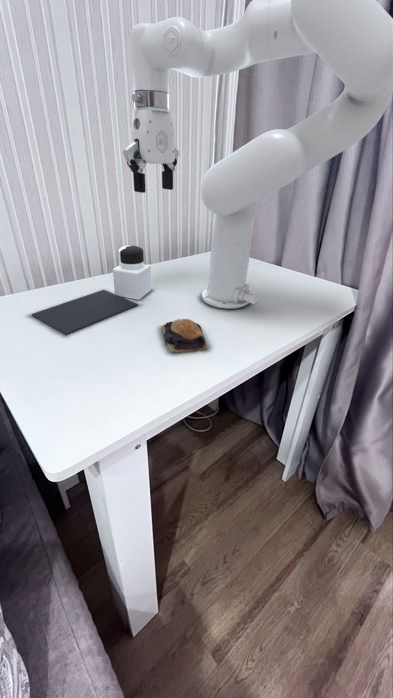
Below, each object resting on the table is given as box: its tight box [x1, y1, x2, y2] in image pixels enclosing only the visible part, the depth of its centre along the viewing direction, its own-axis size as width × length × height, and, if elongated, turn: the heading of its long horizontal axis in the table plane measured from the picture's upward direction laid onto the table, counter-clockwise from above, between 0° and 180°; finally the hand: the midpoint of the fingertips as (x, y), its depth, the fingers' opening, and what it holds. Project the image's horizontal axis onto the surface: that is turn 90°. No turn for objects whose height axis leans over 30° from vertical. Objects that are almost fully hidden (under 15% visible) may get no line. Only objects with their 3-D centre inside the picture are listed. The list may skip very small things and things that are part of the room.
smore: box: [161, 318, 208, 354], centre depth 68 cm, size 11×8×4 cm
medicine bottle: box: [112, 245, 152, 301], centre depth 84 cm, size 7×7×12 cm
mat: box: [31, 289, 139, 336], centre depth 78 cm, size 13×20×1 cm, turn 142°
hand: (154, 190), depth 81 cm, fingers open, 9 cm apart
